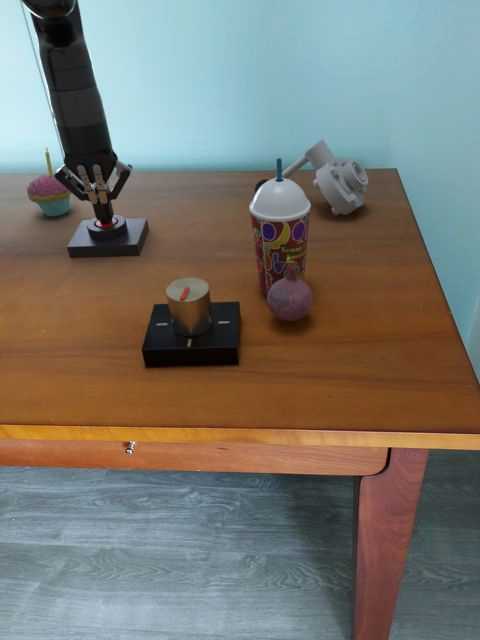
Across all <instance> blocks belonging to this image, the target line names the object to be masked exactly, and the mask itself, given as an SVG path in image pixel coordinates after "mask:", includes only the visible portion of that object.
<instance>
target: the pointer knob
mask: <svg viewBox="0 0 480 640" xmlns="http://www.w3.org/2000/svg"><path fill="white" fill-rule="evenodd" d="M165 294H166V299H167V304H168V306H169V311H170V316H171V322H172V327H173V330H174V331H175V332H176V333H178V334H180V335H183V336H197V335H201V334H203V333H205V332H207V331H208V330H210V329H211V327H212V325H213V315H212V307H211V302H212V301H211V300H212V299H211V290H210V285H209V283H208V282H207V281H206V280H204V279H202V278H199V277H182V278H178V279H176V280H174V281H172V282H170V284H169V285H167V287H166V289H165Z"/></svg>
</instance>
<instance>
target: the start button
mask: <svg viewBox="0 0 480 640" xmlns="http://www.w3.org/2000/svg"><path fill="white" fill-rule="evenodd" d="M116 224H117V220H116V219H115V218H112V220H111V221H110V223H104V224H101V223H100V220H98V221H97V222H96V227H97V228H108V227H112V226H114V225H116Z"/></svg>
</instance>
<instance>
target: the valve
mask: <svg viewBox="0 0 480 640" xmlns="http://www.w3.org/2000/svg"><path fill="white" fill-rule="evenodd" d="M303 153H304V154H303V155H302V156H300V157H299V158H297V159H296V160H295V161H294V162H292V164H290V165H289V166H288V167H287V168H285V169H284V170H282V178H285V179H289V177H290V176H292V175H293V174H294V173H295V172H297V171H298V170H300V169H301V168H302V167H303V166H305V165H306V164H307V163H310V164H311V166H312V167H313V169H314V170H315V177H316V178H315V179H314V180H313V181H312V184H313V186H314V188H316V189H317V190H319V189H320V192H321V194H322V195H323V197H324V199H325V200H326V201H327V203H328V204H329V206H330V207H331V212H332V214H333V215H334V216H338V215H340V214H342V215H346V216H347V215H349V214H351V213H353V212H354V211H355V210H357V209H358V208H360V207H361V206H362V205H363V204H364V199H365V197H364V194H365V193H367V189H366V187H367V185H368V184H369V177H368V175H367V172H366V170H365V168H364V167H363V166H362V165H361V164H360V162H358V161H357V160H355V159H352V160H349V161H348V159H347V158H346V157H345V156H342V157H341V158H339V157H337V156H335V155H334V153H333V152H332V151H331V149H330V148H329V146H328V144H327V143H326V141H325V140H324V139H323V138H322V139H321V138H320V139H319V140H318V141H317V142H316V143H314V144H313V145H312V146H311V147H309V148H308V149H307V150H306V151H304V152H303ZM275 178H277V176H276V177H274V178H273V179H275ZM269 180H270V179H266V178H263V179H261V180H259V181H258V182H257V183H256V184H255V187H254V195H255V194H256V192H257V190H258V189H259V188H260V187H261V186H262V185H263V184H264V183H265V182H267V181H269Z"/></svg>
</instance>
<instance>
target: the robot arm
mask: <svg viewBox="0 0 480 640" xmlns="http://www.w3.org/2000/svg"><path fill="white" fill-rule="evenodd" d="M20 1H21V2H22V4H23V5H24V6H25V7H26V8H27V9H28V10H29V14H30V17H31V22H32V24H33V28H34V31H35V34H36V35H35V36H36V39H37V45H38V56H39V61H40V66H41V69H42V73H43V75H44V80H45V83H46V87H47V92H48V98H49V104H50V108H51V115H52V118H53V120H54V123H55V126H56V130H57V134H58V137H59V141H60V144H61V148H62V151H63V154H64V156H63V165H62V166H60V167H59V168H58V169H57V170H56V171H55V173H54V176H55V178H56V179H57V180H58V181H59V182H60V183H61V184H63V185H64V186H65V187H66V188H67V189H68V190H69V191H70V192H72V193H71V194H72V195H74V196H75V197H76V198H77V199H78V200H79V201H81V202H85V201H87V202H89V203H91V204H92V208H93V212H94V216H95V217H96V219H97V220H100V223H101V224H104V223H110V221H111V220H112V218H113V216H114V214H115V211H114V207H113V205H112V200H113V201H115V200H117V198H118V197H119V195H120V193H121V192H122V190H123V188H124V186H125V185H126V183H127V181H128V180H129V177H130V176H131V174H132V172H133V169H134V167H133V165H131V164H130V163H128V164H125V163H123V162H122V161H121V160H119V157H118V155H117V153H116V152H115V151H114V148H113V143H112V140H111V135H110V131H109V126H108V121H107V116H106V112H105V107H104V103H103V99H102V96H101V92H100V90H99V87H98V83H97V79H96V75H95V69H94V66H93V65H94V64H93V60H92V57H91V53H90V51H89V48H88V45H87V41H86V39H85V33H84V26H83V22H82V21H83V20H82V15H81V10H80V4H79V3H80V2H79V0H20ZM114 170H116V172H115V174H116V176H117V177H118V179H117V181H116V182H115V184H114V186H113V187H112V189H110V178H111V176H112V174H113V173H114ZM80 181H81V182H82V183H81V182H80Z"/></svg>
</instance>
